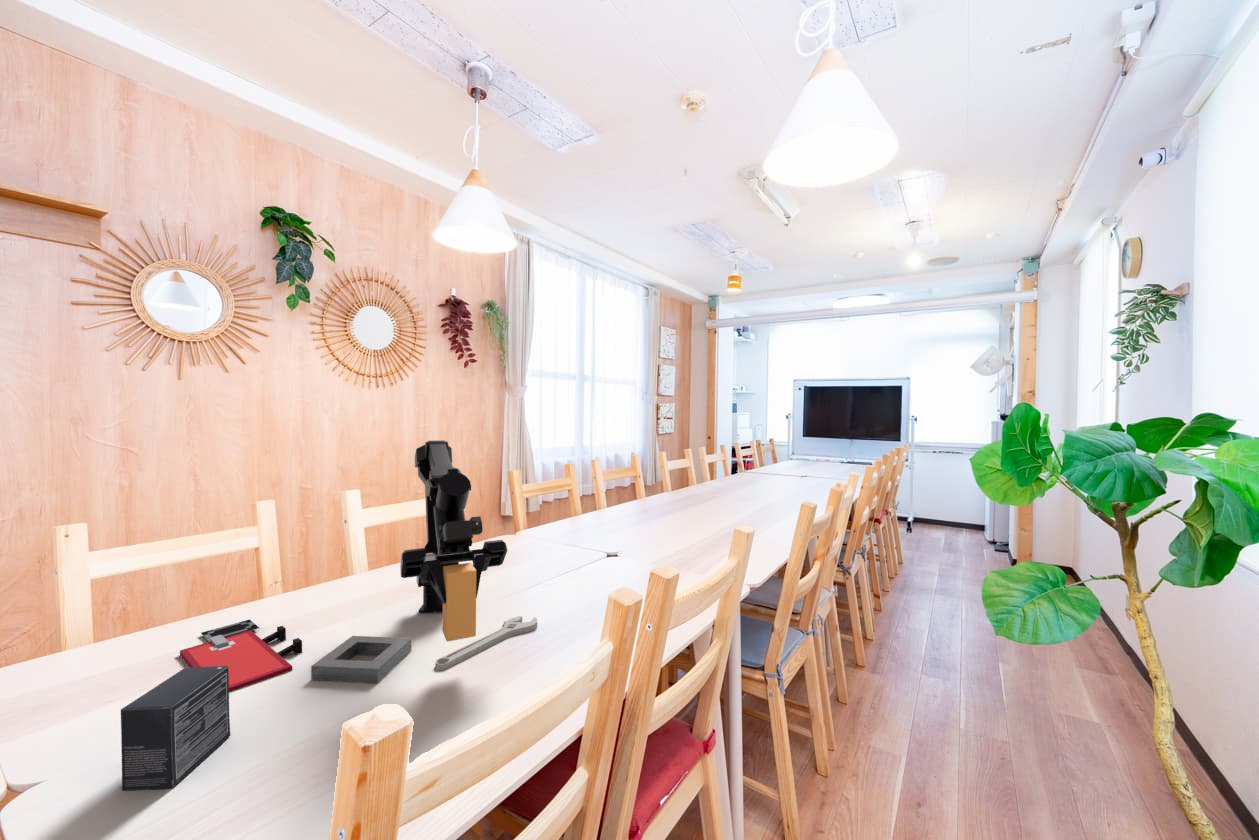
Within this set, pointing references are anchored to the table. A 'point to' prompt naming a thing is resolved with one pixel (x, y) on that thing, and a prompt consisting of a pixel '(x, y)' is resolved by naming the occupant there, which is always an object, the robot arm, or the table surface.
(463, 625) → the tall tan rectangular block
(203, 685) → the small box
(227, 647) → the red board with handle
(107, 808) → the table surface
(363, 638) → the gray square socket plate
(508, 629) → the adjustable wrench
